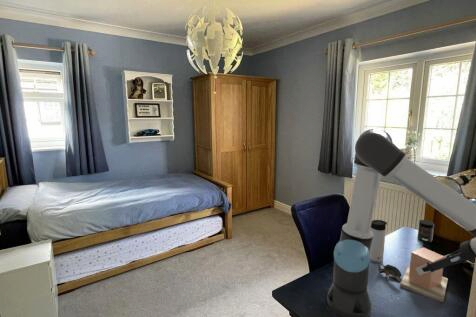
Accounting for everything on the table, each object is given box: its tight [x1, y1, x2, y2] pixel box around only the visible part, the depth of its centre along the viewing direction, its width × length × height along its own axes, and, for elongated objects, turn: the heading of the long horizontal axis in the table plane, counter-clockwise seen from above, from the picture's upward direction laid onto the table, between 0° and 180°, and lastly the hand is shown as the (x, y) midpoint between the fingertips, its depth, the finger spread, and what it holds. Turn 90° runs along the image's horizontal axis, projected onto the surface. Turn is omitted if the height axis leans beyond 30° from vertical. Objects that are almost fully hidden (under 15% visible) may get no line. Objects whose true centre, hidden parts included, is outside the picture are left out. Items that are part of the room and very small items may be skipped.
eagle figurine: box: [376, 262, 403, 283], centre depth 113 cm, size 8×7×9 cm
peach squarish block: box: [409, 247, 445, 290], centre depth 107 cm, size 8×8×12 cm
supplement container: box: [417, 219, 435, 244], centre depth 142 cm, size 7×7×10 cm
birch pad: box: [399, 265, 449, 303], centre depth 108 cm, size 16×14×2 cm
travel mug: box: [370, 219, 388, 264], centre depth 124 cm, size 6×7×20 cm
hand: (427, 266), depth 106 cm, fingers open, 13 cm apart
